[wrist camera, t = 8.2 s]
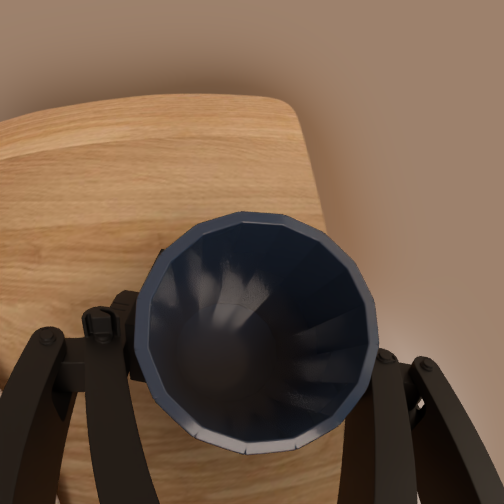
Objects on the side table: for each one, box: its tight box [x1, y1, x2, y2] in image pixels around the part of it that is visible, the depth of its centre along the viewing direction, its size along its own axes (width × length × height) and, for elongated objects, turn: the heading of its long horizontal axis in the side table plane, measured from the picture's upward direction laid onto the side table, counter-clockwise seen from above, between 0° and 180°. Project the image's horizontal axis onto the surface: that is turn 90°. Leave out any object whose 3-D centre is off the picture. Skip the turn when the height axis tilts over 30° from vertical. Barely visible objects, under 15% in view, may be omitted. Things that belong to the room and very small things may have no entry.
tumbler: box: [134, 211, 379, 455], centre depth 12 cm, size 7×7×11 cm
